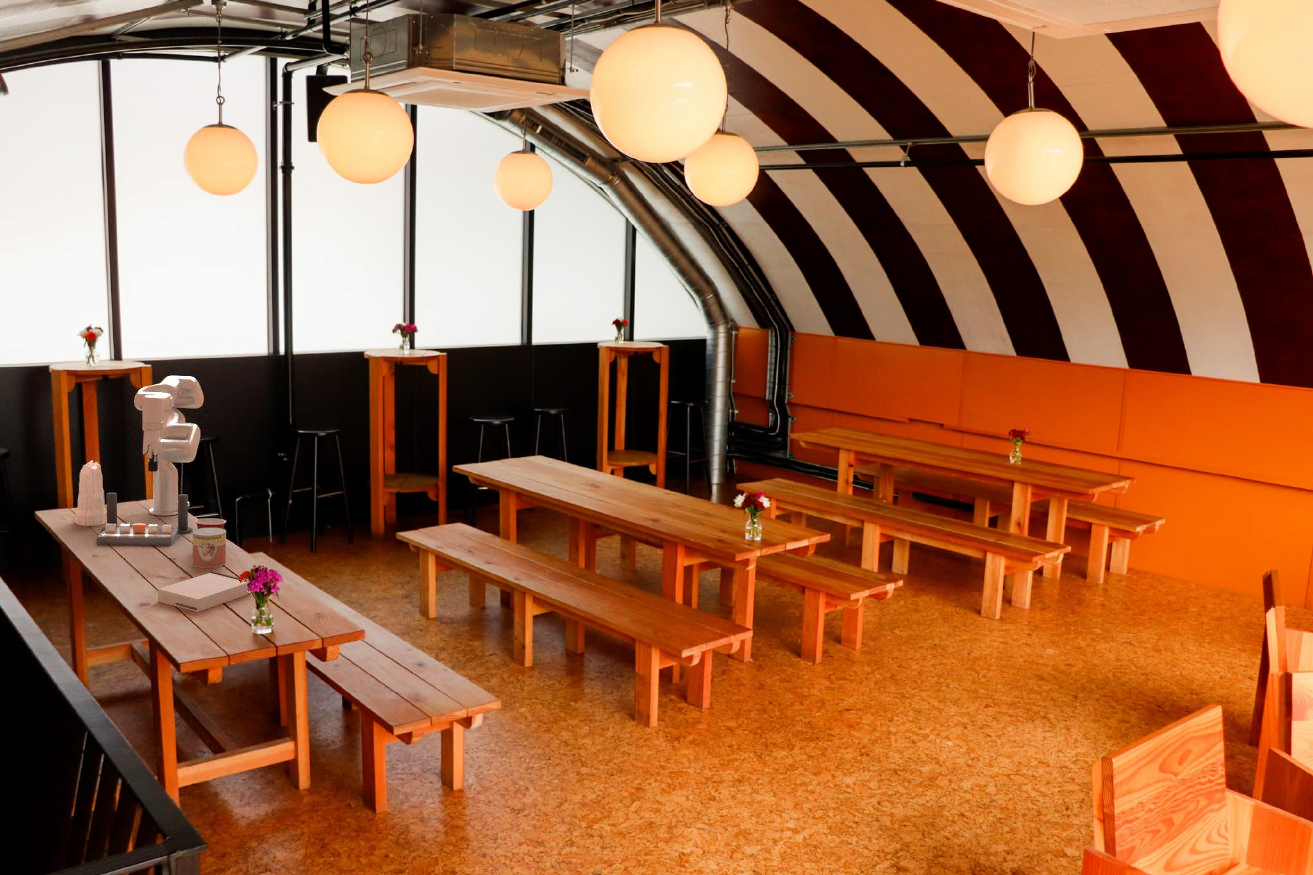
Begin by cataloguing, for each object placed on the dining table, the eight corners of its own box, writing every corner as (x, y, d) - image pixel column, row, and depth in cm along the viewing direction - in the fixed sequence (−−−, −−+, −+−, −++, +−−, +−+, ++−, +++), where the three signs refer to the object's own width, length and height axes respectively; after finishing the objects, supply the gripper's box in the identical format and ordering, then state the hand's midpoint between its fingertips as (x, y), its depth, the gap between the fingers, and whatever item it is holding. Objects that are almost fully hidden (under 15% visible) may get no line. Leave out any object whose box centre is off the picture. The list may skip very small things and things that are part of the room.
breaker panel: (107, 534, 405) (107, 519, 404) (179, 535, 411) (179, 520, 410) (97, 544, 392) (96, 529, 391) (171, 545, 398) (171, 530, 397)
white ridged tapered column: (96, 526, 414) (96, 465, 410) (70, 524, 414) (69, 463, 410) (111, 520, 425) (111, 460, 421) (85, 518, 425) (84, 458, 421)
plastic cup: (231, 548, 400) (231, 517, 398) (216, 555, 390) (216, 524, 388) (204, 545, 401) (204, 515, 399) (189, 552, 390) (189, 521, 389)
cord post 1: (118, 527, 416) (117, 490, 413) (124, 531, 411) (124, 494, 409) (99, 529, 411) (98, 492, 408) (105, 533, 406) (105, 496, 403)
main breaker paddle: (134, 530, 401) (134, 523, 401) (145, 531, 402) (145, 523, 402) (132, 532, 399) (132, 524, 399) (144, 532, 400) (144, 524, 400)
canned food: (190, 567, 373) (190, 535, 371) (195, 558, 384) (195, 527, 382) (223, 567, 376) (224, 535, 374) (227, 558, 387) (228, 527, 385)
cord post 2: (188, 528, 422) (188, 492, 419) (195, 532, 417) (195, 496, 414) (170, 530, 417) (170, 494, 414) (177, 534, 412) (177, 498, 409)
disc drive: (250, 595, 352) (251, 580, 351) (198, 613, 331) (198, 598, 330) (211, 585, 358) (211, 571, 358) (157, 602, 338) (157, 588, 337)
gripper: (147, 422, 422) (147, 467, 425) (137, 428, 407) (138, 474, 410) (167, 423, 424) (167, 467, 426) (158, 429, 409) (158, 475, 412)
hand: (153, 470), depth 418 cm, fingers closed
